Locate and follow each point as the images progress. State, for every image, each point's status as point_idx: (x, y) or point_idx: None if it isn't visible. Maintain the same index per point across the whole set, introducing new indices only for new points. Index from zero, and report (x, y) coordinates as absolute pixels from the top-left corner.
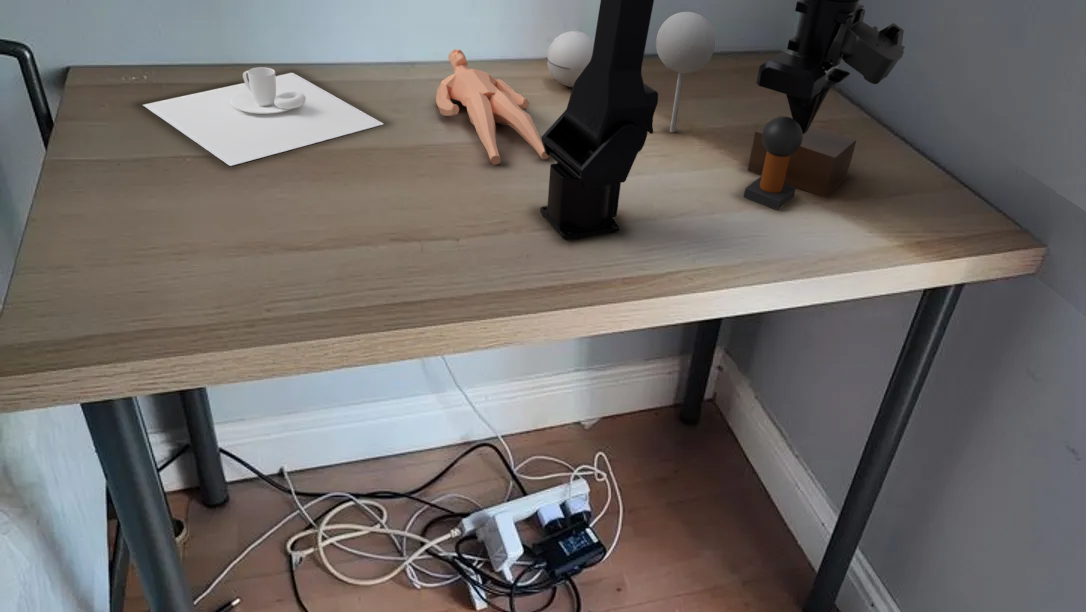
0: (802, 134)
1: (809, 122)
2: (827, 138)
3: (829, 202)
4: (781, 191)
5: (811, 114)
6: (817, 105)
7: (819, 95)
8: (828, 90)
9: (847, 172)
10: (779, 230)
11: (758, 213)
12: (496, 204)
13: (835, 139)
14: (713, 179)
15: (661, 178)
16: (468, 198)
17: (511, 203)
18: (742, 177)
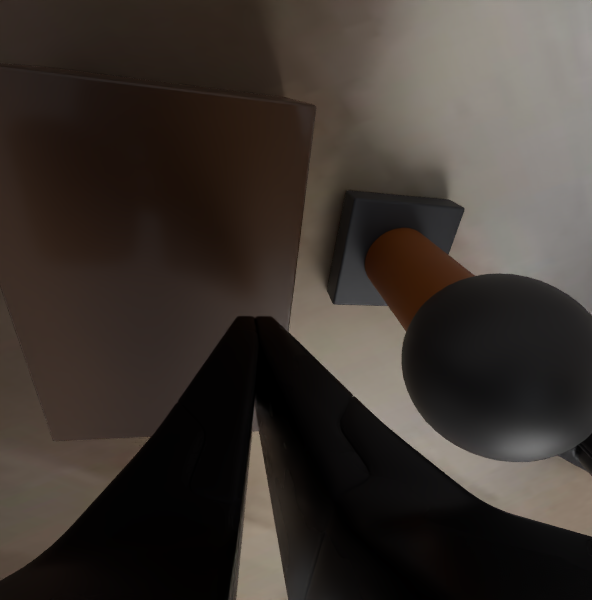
0: (524, 311)
1: (275, 343)
2: (99, 220)
3: (311, 68)
4: (403, 226)
5: (324, 377)
6: (249, 411)
7: (397, 503)
8: (108, 509)
9: (40, 66)
10: (560, 154)
11: (484, 234)
12: (576, 498)
13: (68, 179)
14: (360, 371)
15: (409, 428)
16: (569, 517)
17: (569, 492)
18: (309, 335)
